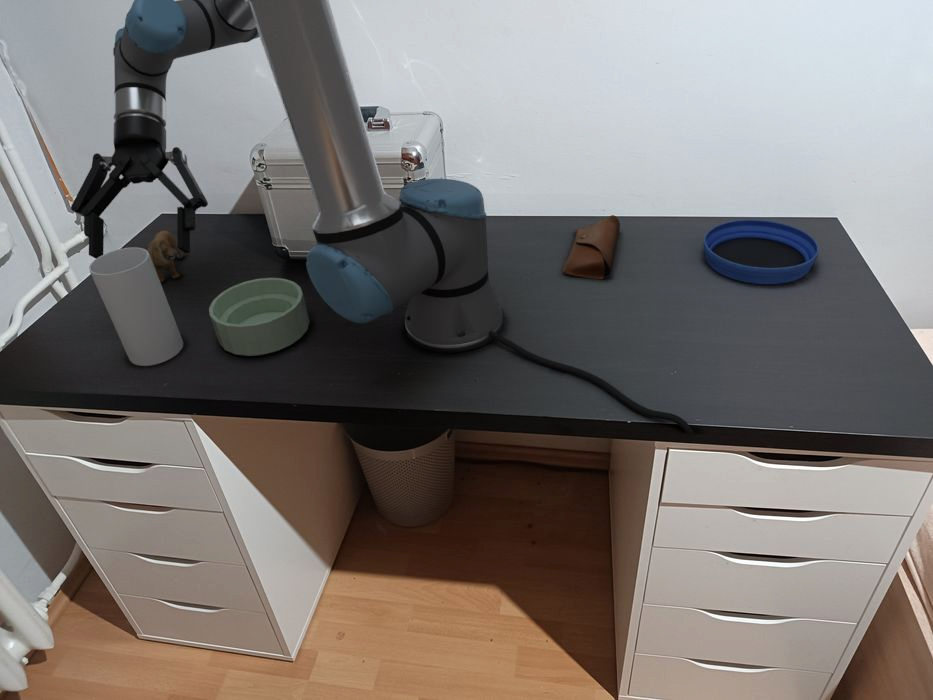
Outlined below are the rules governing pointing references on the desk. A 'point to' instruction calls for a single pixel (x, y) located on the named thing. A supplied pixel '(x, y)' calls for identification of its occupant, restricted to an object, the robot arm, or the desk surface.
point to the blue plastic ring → (760, 251)
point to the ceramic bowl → (259, 316)
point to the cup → (137, 305)
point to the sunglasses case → (593, 250)
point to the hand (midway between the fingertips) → (139, 254)
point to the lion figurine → (164, 253)
